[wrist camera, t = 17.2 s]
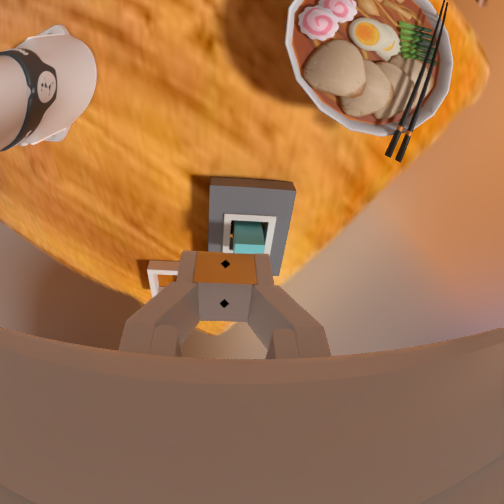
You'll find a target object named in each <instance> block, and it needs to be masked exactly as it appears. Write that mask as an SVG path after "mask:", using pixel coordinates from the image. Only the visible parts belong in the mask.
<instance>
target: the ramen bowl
mask: <svg viewBox="0 0 504 504" xmlns="http://www.w3.org/2000/svg"><path fill="white" fill-rule="evenodd" d="M444 3H445V0H444V1H443V4H442V8H441V11H440V14H439V15H438V14H437V12H436V10H435V9H434V7H433V5H432V4H431V3H430V2H429V1H428V0H293V1H292V3H291V4H290V5H289V7H288V13H287V23H286V33H285V42H284V44H285V47H286V50H287V53H288V56H289V60H290V63H291V66H292V69H293V73H294V76H295V80H296V81H297V82H298V84H299V85H300V86H301V87H302V89H303V90H304V91H305V92H306V94H307V95H308V96H309V97H310V99H311V100H312V101H313V102H314V104H315V105H316V106H317V108H318V109H319V110H320V111H321V112H323V113H324V114H326V115H328V116H329V117H331V118H332V119H334V120H335V121H337V122H338V123H340V124H341V125H343V126H345V127H346V128H347V129H349V130H351V131H357V132H362V133H367V134H372V135H377V136H381V137H383V136H388V135H393V138H392V140H391V142H390V144H389V147H388V149H387V151H386V153H385V155H386V156H388V157H390V158H391V156H392V153H393V151H394V149H395V147H396V144H397V142H398V139H399V137H400V135H401V133H405V132H407V133H406V134H405V137H404V139H403V142H402V144H401V147H400V149H399V151H398V154H397V156H396V158H395V160H397V161H399V162H401V161H402V158H403V156H404V153H405V151H406V148H407V145H408V143H409V140H410V137H411V134H412V132H413V130H414V129H415V128H416V127H418V126H419V125H421V124H422V123H424V122H425V121H426V120H428V119H429V118H431V117H432V116H434V114H435V113H436V111H437V109H438V108H439V106H440V105H441V103H442V102H443V100H444V98H445V97H446V95H447V94H448V92H449V87H450V81H451V75H452V69H453V57H452V51H451V46H450V40H449V35H448V32H447V30H446V28H445V26H444V21H445V16H446V11H447V6H448V2H447V3H446V8H445V12H444V17H443V21H441V19H440V18H441V15H442V11H443V7H444Z"/></svg>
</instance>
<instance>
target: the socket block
mask: <svg viewBox="0 0 504 504" xmlns="http://www.w3.org/2000/svg"><path fill="white" fill-rule="evenodd" d="M295 195H296V189H295V187H294V185H293V182H284V181H272V180H259V179H245V178H227V177H211V181H210V195H209V234H208V252H223V253H233V238H230V230H231V220H237V221H256V222H265V225H264V231H263V236H264V242H265V248H264V254H268V255H269V257H270V263H271V269H272V274H273V276H279V273H280V268H281V263H282V259H283V254H284V249H285V245H286V240H287V235H288V230H289V225H290V220H291V215H292V211H293V206H294V200H295Z"/></svg>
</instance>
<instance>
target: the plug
mask: <svg viewBox="0 0 504 504" xmlns="http://www.w3.org/2000/svg"><path fill="white" fill-rule="evenodd" d="M264 248H265V242H264V236H263V230H262V224H261V222H256V221H237V220H234V225H233V253H243V254H254V253H258V254H264Z"/></svg>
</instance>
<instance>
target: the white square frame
mask: <svg viewBox="0 0 504 504" xmlns="http://www.w3.org/2000/svg"><path fill="white" fill-rule="evenodd" d="M179 264H180V262H179V261H157V260H150V261H149V264H148V268H147V273H148V278H149V284H150V289H151V294H152V298H153V297H154V296H156V295H157V294H158V293H159V292H160V291H161V290H163V289H164V288H165V287H162V286H159V283H158V276H157V274H162V275H177V274H178V269H179Z"/></svg>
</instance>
